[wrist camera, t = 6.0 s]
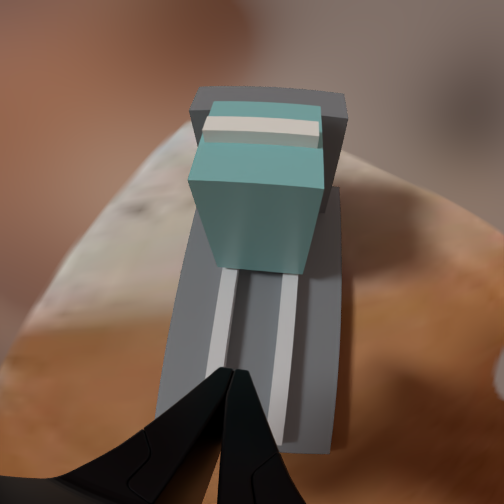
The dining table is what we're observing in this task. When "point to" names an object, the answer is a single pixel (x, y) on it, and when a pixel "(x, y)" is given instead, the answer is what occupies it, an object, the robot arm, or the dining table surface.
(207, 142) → the fader knob
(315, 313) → the fader track
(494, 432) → the dining table surface
